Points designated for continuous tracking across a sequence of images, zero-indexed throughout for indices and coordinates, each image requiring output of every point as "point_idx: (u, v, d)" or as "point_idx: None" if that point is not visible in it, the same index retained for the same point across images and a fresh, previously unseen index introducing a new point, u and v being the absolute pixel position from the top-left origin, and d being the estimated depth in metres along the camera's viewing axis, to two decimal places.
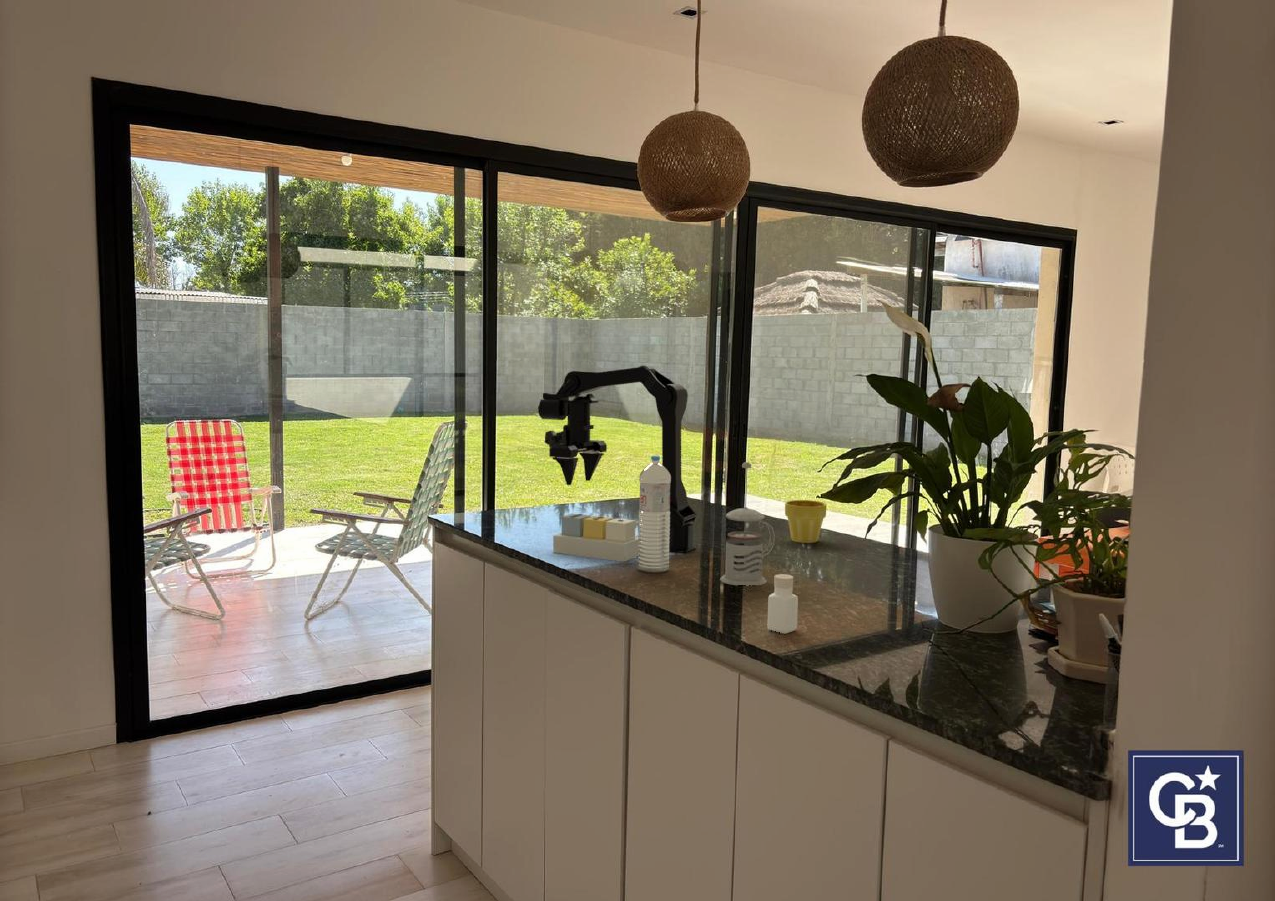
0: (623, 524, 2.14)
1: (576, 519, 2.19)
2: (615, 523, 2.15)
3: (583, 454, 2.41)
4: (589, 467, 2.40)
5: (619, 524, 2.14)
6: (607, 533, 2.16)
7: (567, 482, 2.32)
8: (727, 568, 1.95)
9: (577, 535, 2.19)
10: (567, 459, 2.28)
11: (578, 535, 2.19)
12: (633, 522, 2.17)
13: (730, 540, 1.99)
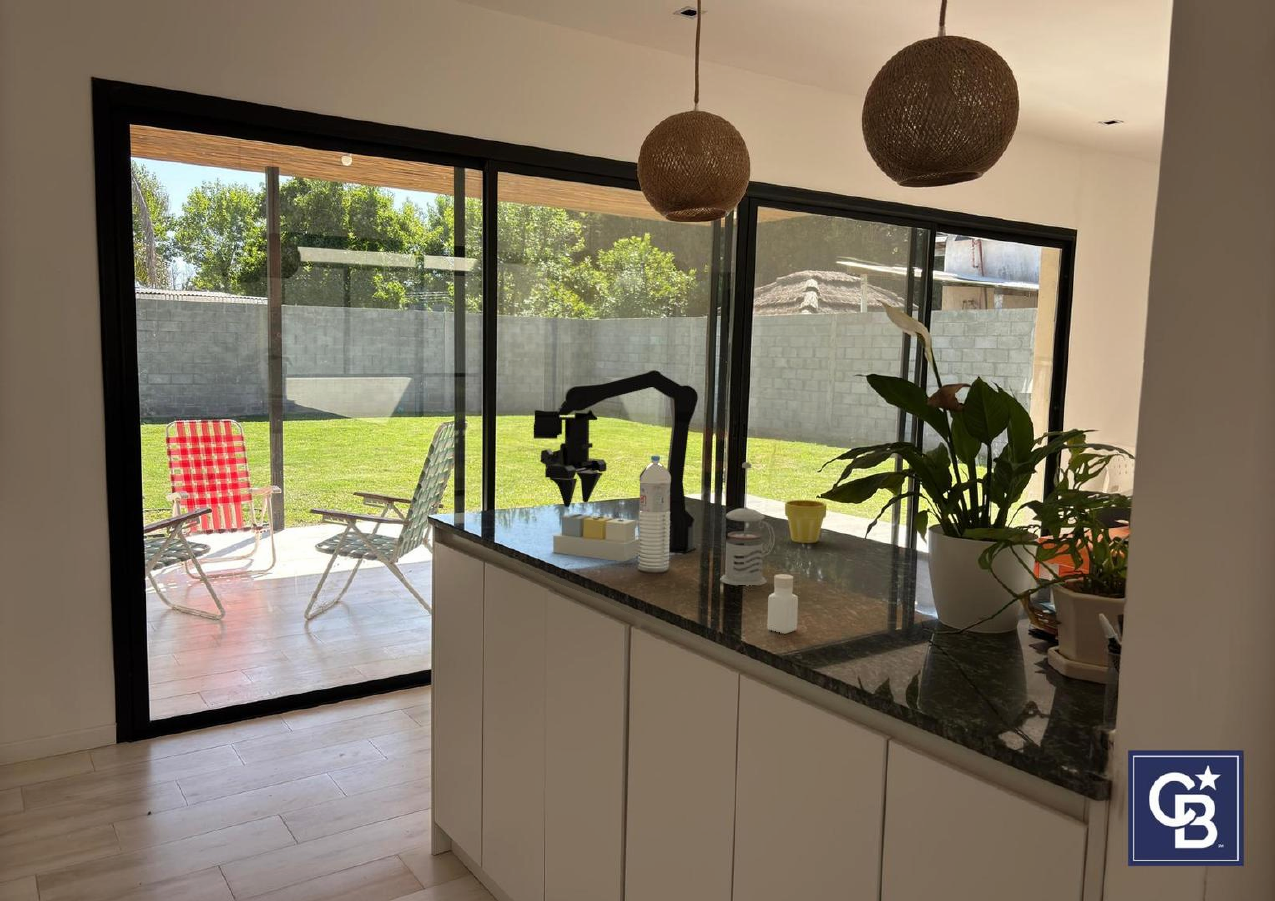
0: (623, 524, 2.14)
1: (576, 519, 2.19)
2: (615, 523, 2.15)
3: (580, 474, 2.26)
4: (586, 488, 2.26)
5: (619, 524, 2.14)
6: (607, 533, 2.16)
7: (565, 504, 2.18)
8: (727, 568, 1.95)
9: (577, 535, 2.19)
10: (565, 480, 2.14)
11: (578, 535, 2.19)
12: (633, 522, 2.17)
13: (730, 540, 1.99)
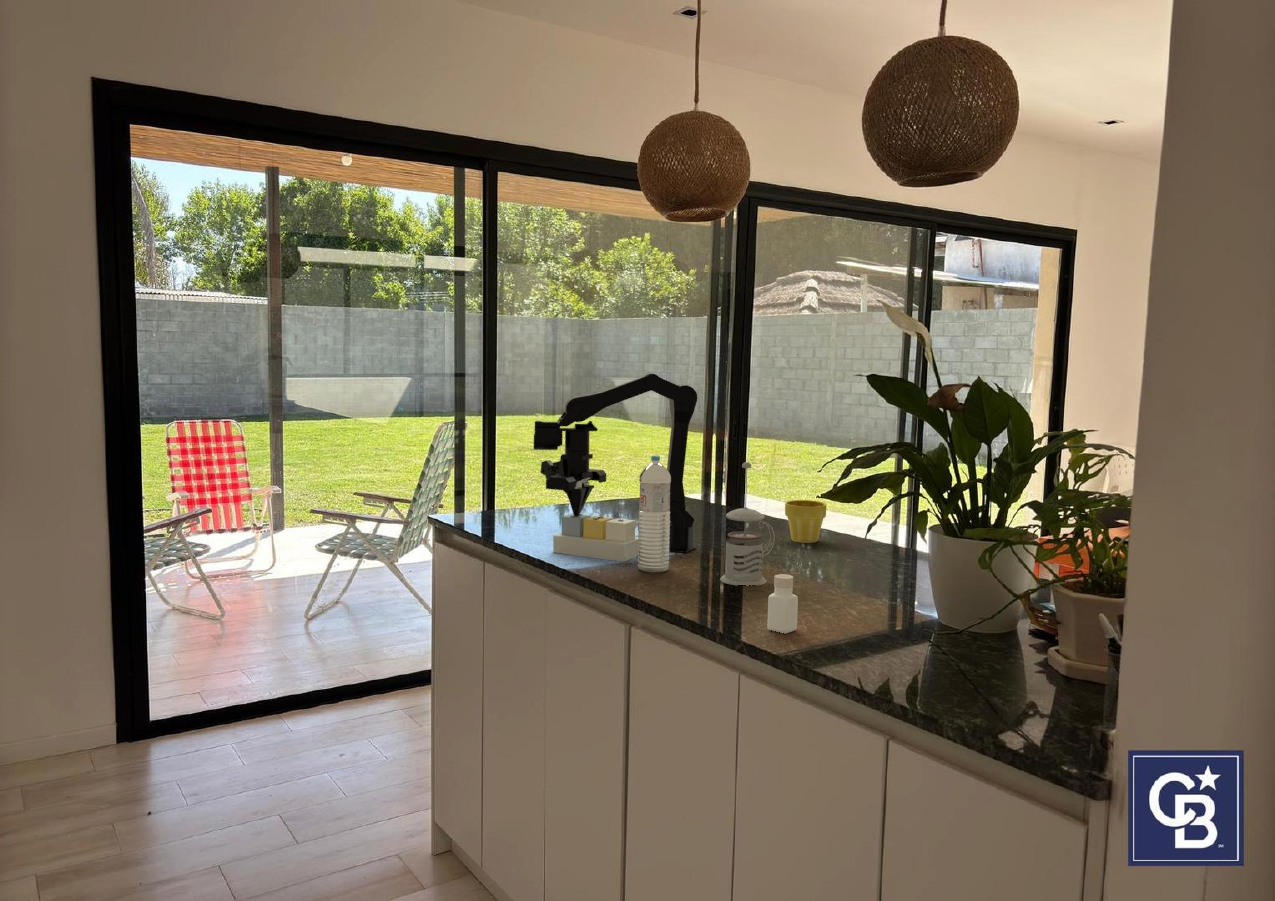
0: (623, 524, 2.14)
1: (576, 519, 2.19)
2: (615, 523, 2.15)
3: None
4: None
5: (619, 524, 2.14)
6: (607, 533, 2.16)
7: (574, 513, 2.22)
8: (727, 568, 1.95)
9: (577, 535, 2.19)
10: (575, 489, 2.17)
11: (578, 535, 2.19)
12: (633, 522, 2.17)
13: (730, 540, 1.99)
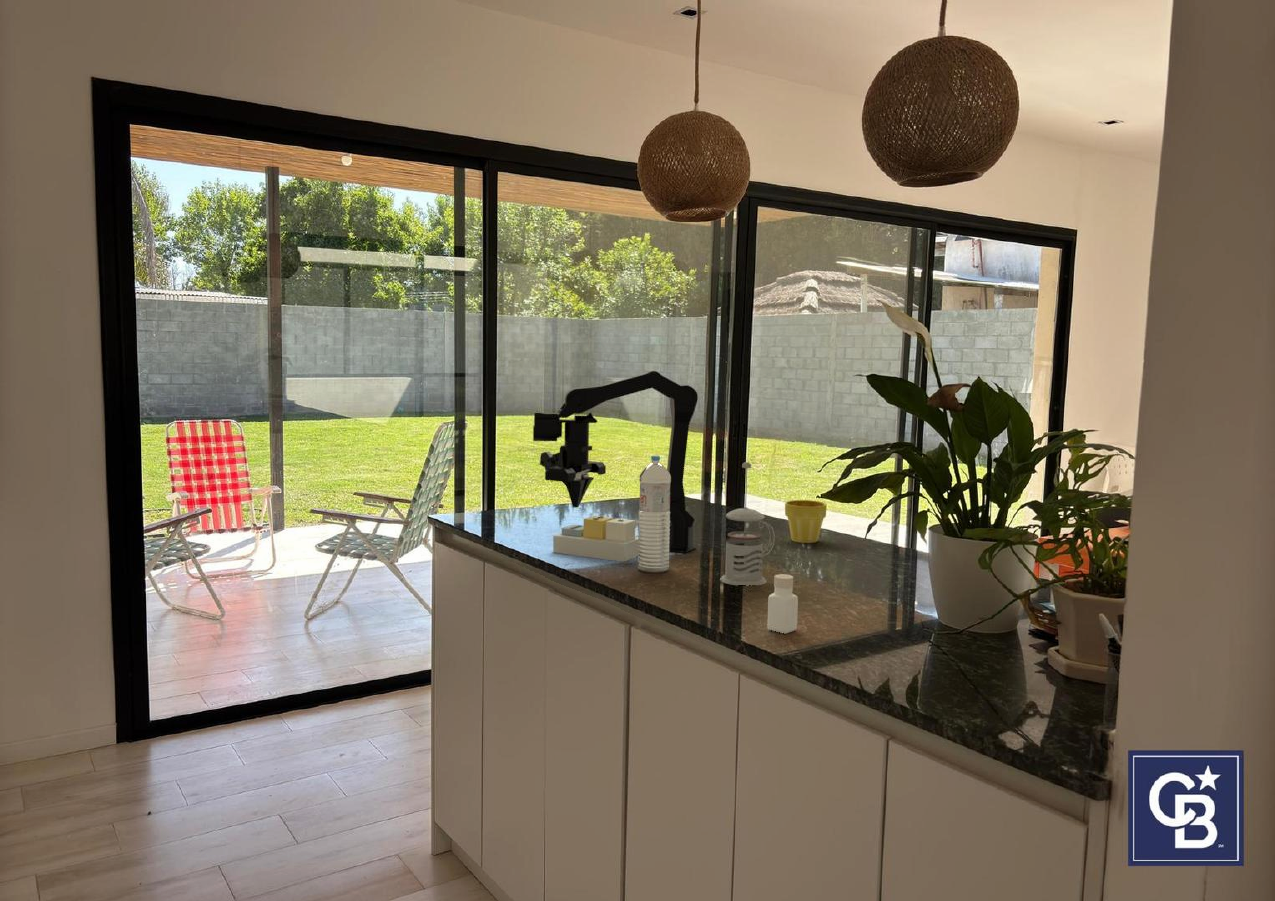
0: (623, 524, 2.14)
1: (576, 531, 2.19)
2: (615, 523, 2.15)
3: None
4: None
5: (619, 524, 2.14)
6: (607, 533, 2.16)
7: (573, 504, 2.21)
8: (727, 568, 1.95)
9: None
10: (574, 481, 2.17)
11: None
12: (633, 522, 2.17)
13: (730, 540, 1.99)
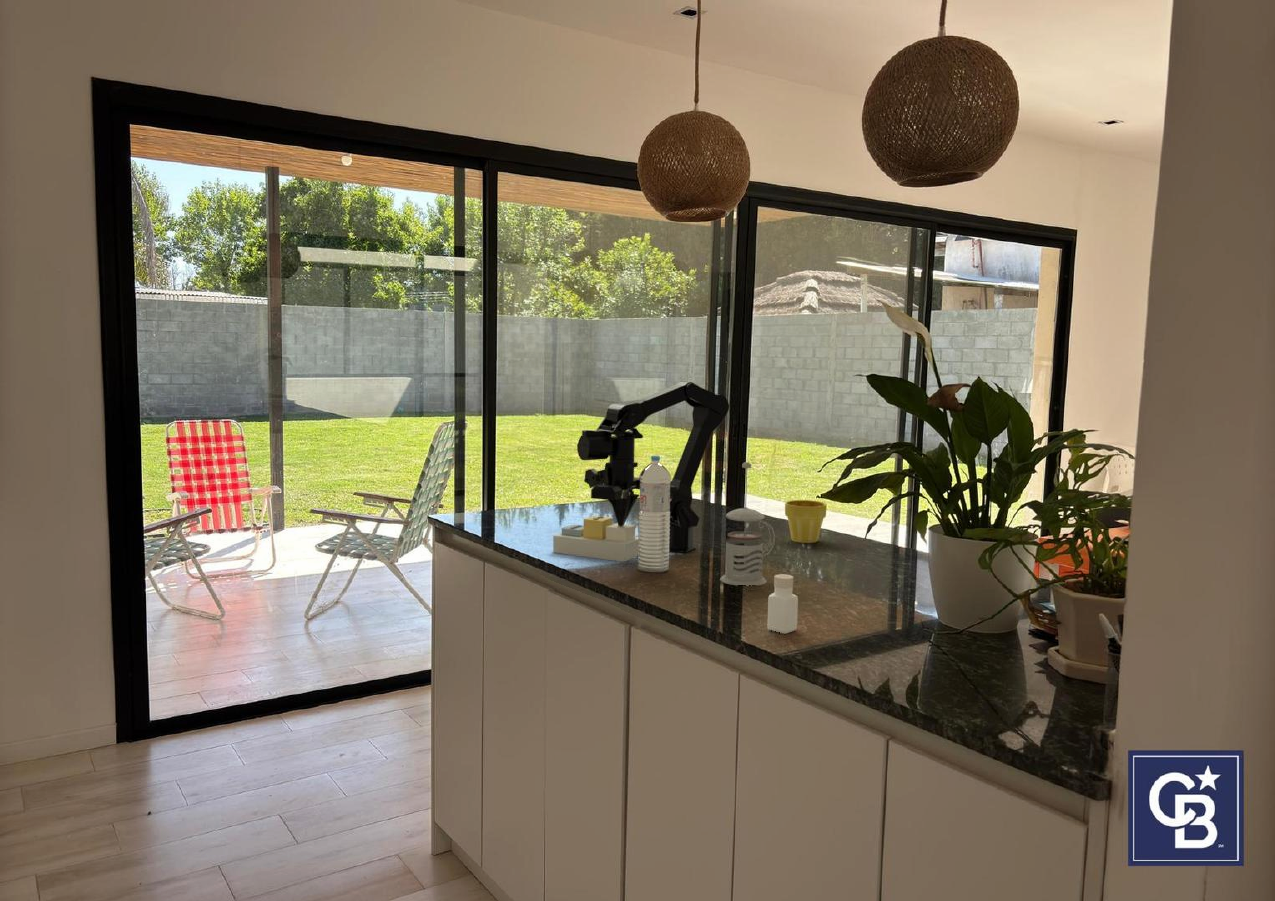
0: (623, 529, 2.14)
1: (576, 531, 2.19)
2: (615, 528, 2.15)
3: None
4: None
5: (619, 529, 2.14)
6: (607, 538, 2.16)
7: (619, 522, 2.16)
8: (727, 568, 1.95)
9: None
10: (620, 499, 2.12)
11: None
12: (633, 527, 2.17)
13: (730, 540, 1.99)
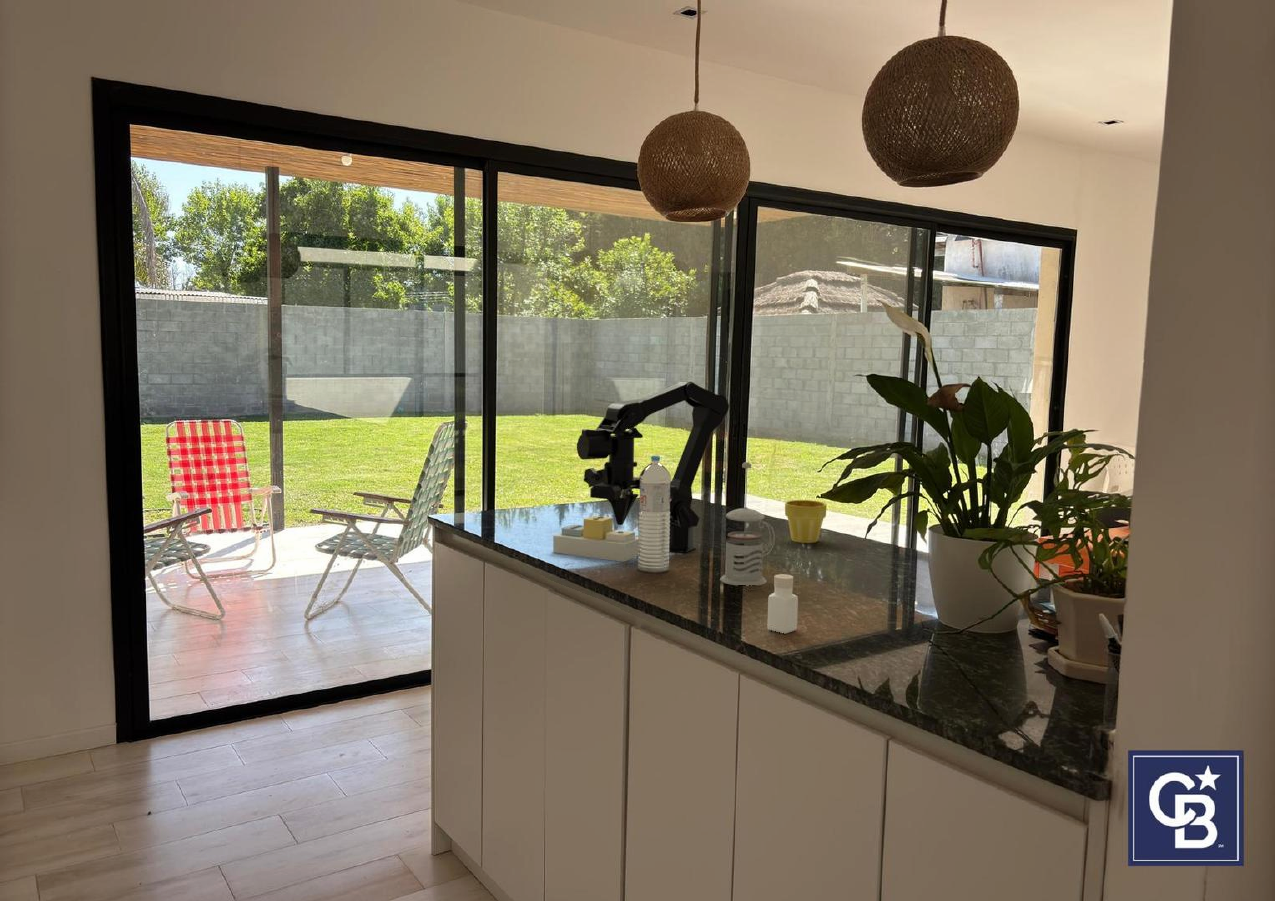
0: (623, 536, 2.14)
1: (576, 531, 2.19)
2: (615, 535, 2.15)
3: None
4: None
5: (619, 536, 2.14)
6: None
7: (618, 522, 2.16)
8: (727, 568, 1.95)
9: None
10: (619, 498, 2.12)
11: None
12: (633, 534, 2.17)
13: (730, 540, 1.99)
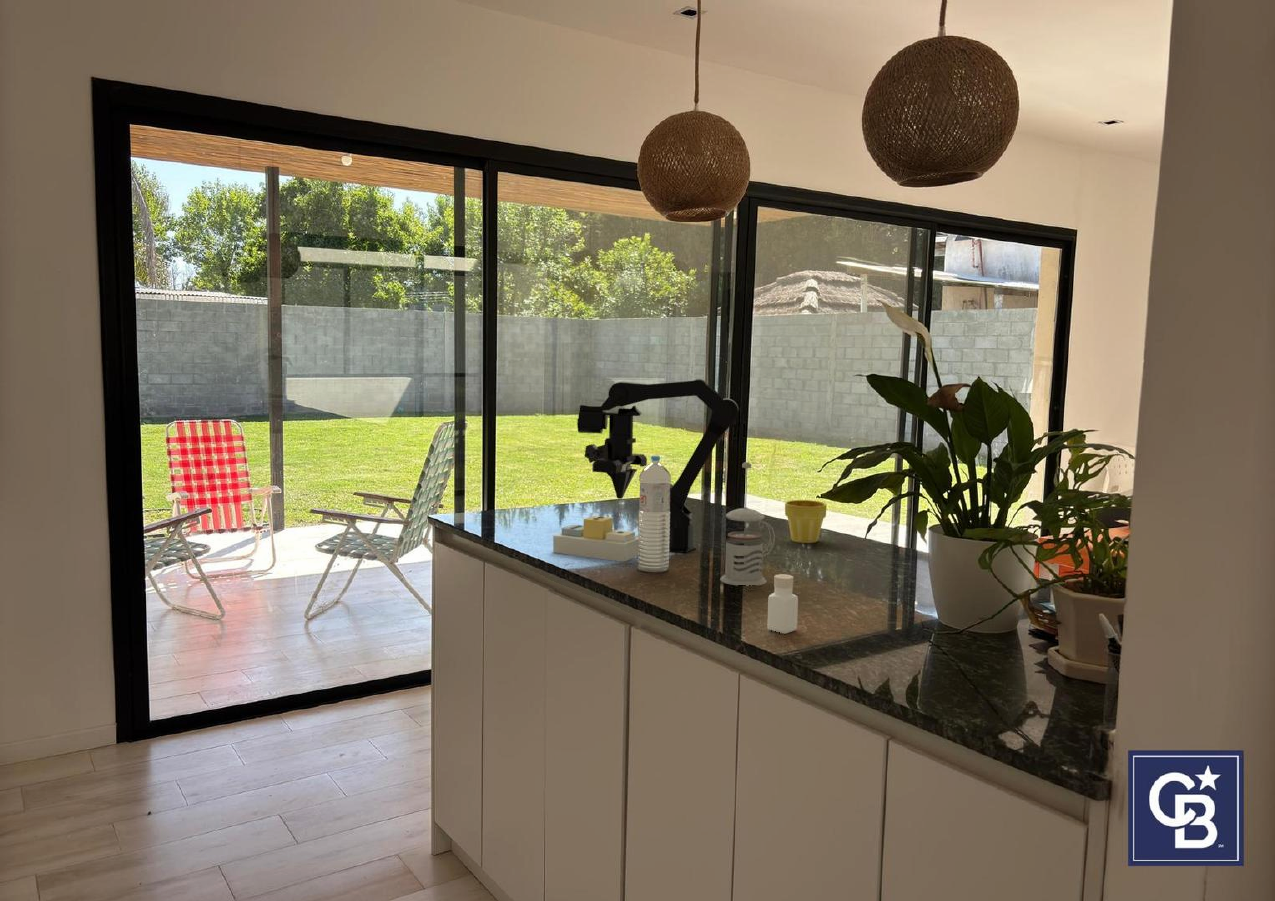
0: (623, 536, 2.14)
1: (576, 531, 2.19)
2: (615, 535, 2.15)
3: None
4: None
5: (619, 536, 2.14)
6: None
7: (617, 496, 2.26)
8: (727, 568, 1.95)
9: None
10: (620, 472, 2.22)
11: None
12: (633, 534, 2.17)
13: (730, 540, 1.99)
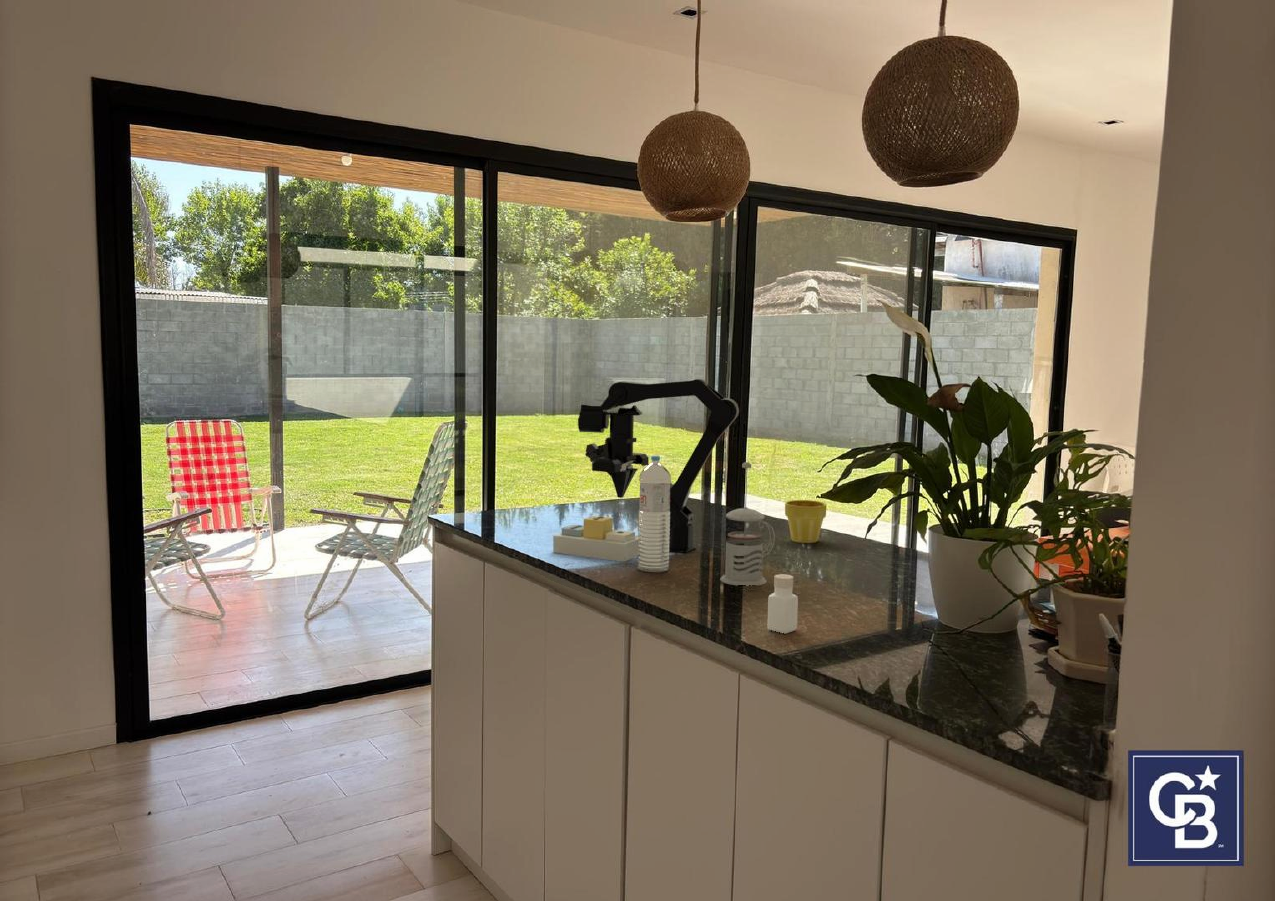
0: (623, 536, 2.14)
1: (576, 531, 2.19)
2: (615, 535, 2.15)
3: None
4: None
5: (619, 536, 2.14)
6: None
7: (618, 495, 2.27)
8: (727, 568, 1.95)
9: None
10: (619, 472, 2.23)
11: None
12: (633, 534, 2.17)
13: (730, 540, 1.99)
